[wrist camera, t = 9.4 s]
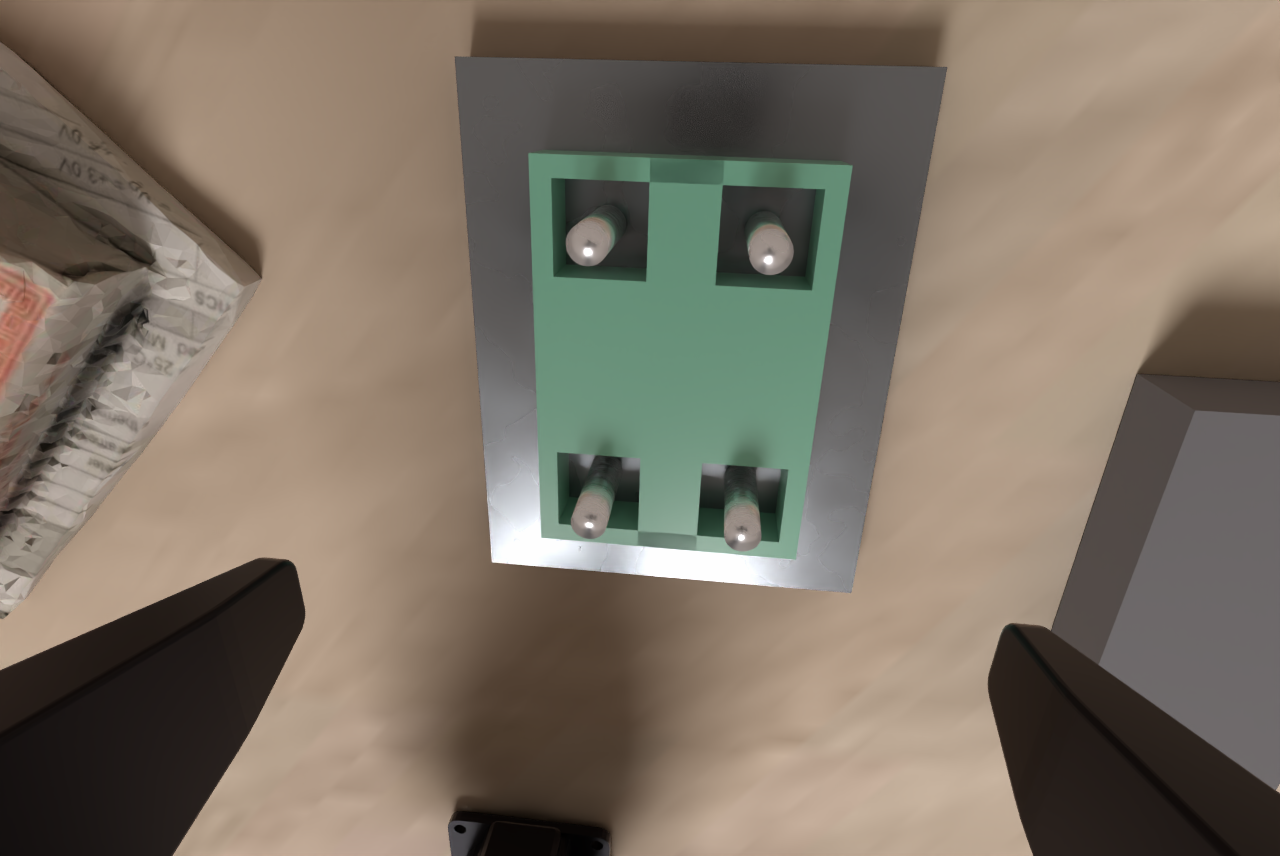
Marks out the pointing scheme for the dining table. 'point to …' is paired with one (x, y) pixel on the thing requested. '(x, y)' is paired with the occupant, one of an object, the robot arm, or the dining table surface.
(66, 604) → the dining table surface
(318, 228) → the dining table surface
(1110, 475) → the foam pad
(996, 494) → the dining table surface
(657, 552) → the grey metal peg base
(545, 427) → the board
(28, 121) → the packaged product
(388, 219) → the dining table surface
